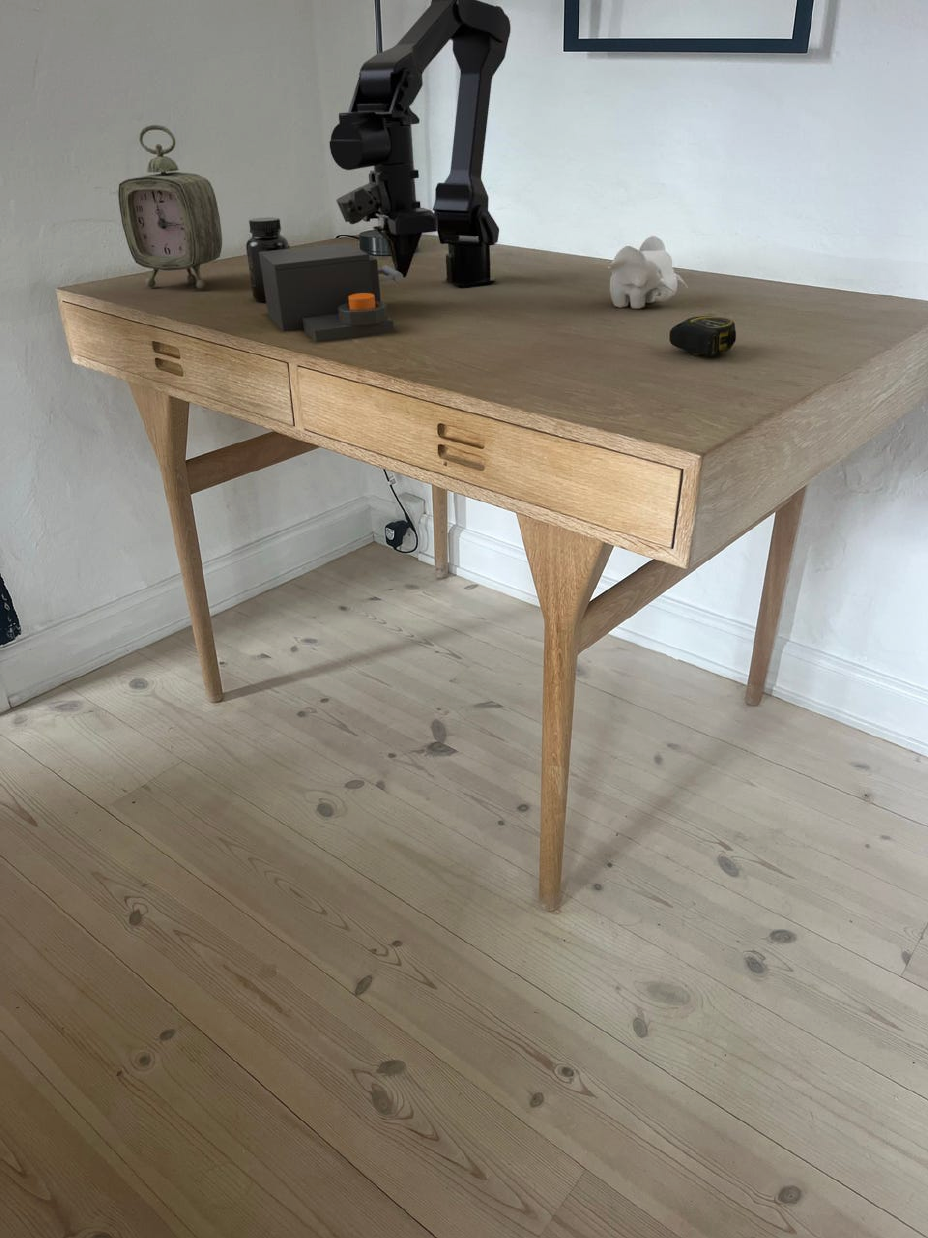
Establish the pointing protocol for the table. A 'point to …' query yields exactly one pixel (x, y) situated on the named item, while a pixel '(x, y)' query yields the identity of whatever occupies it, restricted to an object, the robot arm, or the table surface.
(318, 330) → the pad
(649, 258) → the elephant figurine
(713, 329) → the tape measure
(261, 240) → the supplement bottle
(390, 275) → the box with white handle
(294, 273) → the grey lidded box
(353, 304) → the button
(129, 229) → the tabletop clock
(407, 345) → the table surface
